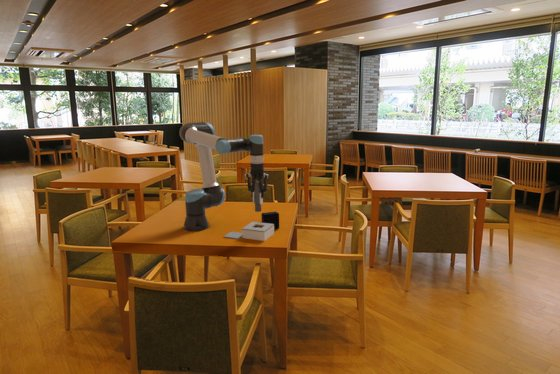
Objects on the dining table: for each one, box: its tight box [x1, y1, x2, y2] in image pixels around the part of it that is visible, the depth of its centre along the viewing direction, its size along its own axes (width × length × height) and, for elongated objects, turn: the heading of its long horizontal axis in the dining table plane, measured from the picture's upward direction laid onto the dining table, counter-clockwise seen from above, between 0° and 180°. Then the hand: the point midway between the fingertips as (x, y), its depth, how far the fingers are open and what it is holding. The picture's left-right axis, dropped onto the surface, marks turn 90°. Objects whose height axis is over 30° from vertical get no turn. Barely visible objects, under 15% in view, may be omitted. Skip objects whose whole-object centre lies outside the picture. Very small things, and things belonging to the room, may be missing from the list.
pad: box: [223, 231, 242, 240], centre depth 223 cm, size 9×9×1 cm
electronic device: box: [261, 211, 280, 230], centre depth 235 cm, size 4×10×10 cm, turn 111°
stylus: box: [254, 180, 262, 213], centre depth 218 cm, size 4×4×17 cm
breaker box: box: [241, 221, 275, 242], centre depth 223 cm, size 14×14×6 cm
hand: (257, 203), depth 219 cm, fingers closed on stylus, 3 cm apart
